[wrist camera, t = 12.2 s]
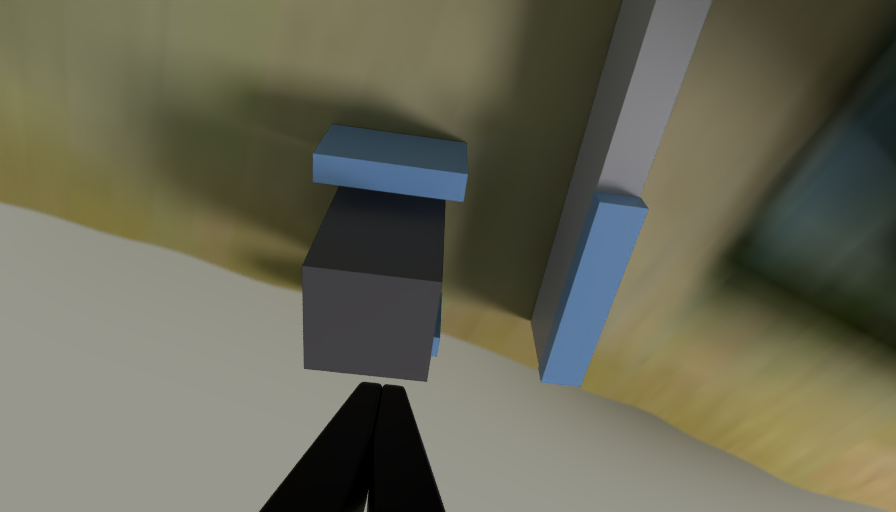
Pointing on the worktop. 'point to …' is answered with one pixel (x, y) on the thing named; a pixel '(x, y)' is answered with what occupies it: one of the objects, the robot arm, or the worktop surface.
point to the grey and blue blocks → (591, 188)
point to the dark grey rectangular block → (374, 285)
